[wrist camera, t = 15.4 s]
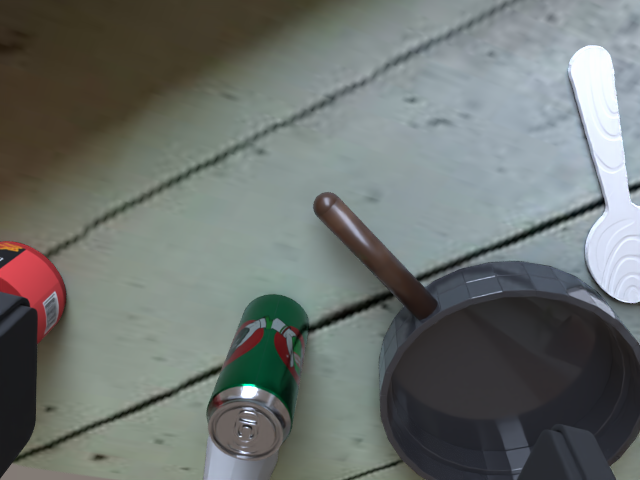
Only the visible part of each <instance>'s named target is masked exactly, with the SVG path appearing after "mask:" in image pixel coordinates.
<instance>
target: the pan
mask: <svg viewBox="0 0 640 480" xmlns="http://www.w3.org/2000/svg"><path fill="white" fill-rule="evenodd" d="M425 289H426V290H427V291H428V292H429V293H430V294H431V295H432V296H433V297H434V298H435V299H436V300H437V302H438V304H437V307H436V309H435V311H434V312H433V313H432V314H431V315H430V316H428V317H427V318H425V319H423V320H418V319H417V318H416V317H415V316H414V315H413V314H412V313H411V312H410V311H409V310H408V309H407V308H406V307H405V306H404V307H403V308H402V310H401V311H400V312H399V313H398V314H397V315H396V317H394V319H393V321H392V323H391V325H390V327H389V329H388V331H387V333H386V335H385V337H384V339H383V344H382V348H381V352H380V357H379V388H380V412H381V420H382V423H383V426H384V429H385V432H386V435H387V438H388V440H389V442H390V443H391V445H392V446H393V448H394V449H395V451H396V452H397V454H398V455H399V457H400V458H401V459H402V460H403V461H404V462H405V463H406V464H407V465H408V466H409V467H410V468H411V469H413V470H414V471H415V472H416V473H417V474H418V475H419V476H421V477H423V478H425V479H426V480H517V478H518V476H519V474H520V472H521V470H522V468H523V466H524V465H525V463H526V461H527V459H528V457H529V455H530V453H531V451H532V449H533V447H534V445H535V443H536V441H537V439H538V437H539V435H540V434H541V432H542V431H543V430H545V429H548V430H550V429H551V428H552V427H553V426H554V425H555V424H562V425H566V426H570V427H575V428H579V429H583V430H587V431H589V432H591V433H592V434H593V436H594V437H595V439H596V441H597V443H598V445H599V447H600V449H601V451H602V453H603V455H604V457H605V459H606V461H607V463H608V465H609V466H611V465H612V464H613V463H614V462H616V461H617V460H618V459H619V458H620V457H621V456H622V455H623V453H624V452H625V451H626V450H627V449H628V447H629V446H630V445H631V444H632V443H633V441H634V440H635V439H636V437H637V435H638V433H639V431H640V345H639V343H638V342H637V341H636V339H635V338H634V337H633V335H632V334H631V333H630V331H629V330H628V329H627V328H626V326H625V325H624V324H623V322H622V321H621V320H620V319H619V317H618V316H617V315H616V313H615V312H614V311H613V310H612V308H611V307H610V306H609V305H608V304H607V302H606V301H605V300H604V299H603V298H602V296H601V295H600V294H599V293H598V292H597V291H596V290H594V289H593V288H592V287H590V286H589V285H587V284H586V283H585V282H583V281H582V280H580V279H579V278H577V277H576V276H574V275H571V274H569V273H566V272H564V271H561V270H559V269H556V268H554V267H551V266H546V265H540V264H534V263H528V262H522V261H521V262H520V261H509V262H488V263H484V264H480V265H476V266H471V267H467V268H463V269H459V270H457V271H455V272H453V273H451V274H448V275H446V276H444V277H442V278H440V279H437V280H435V281H434V282H432V283H431V284H429V285H428V286H427V287H425ZM436 322H437V323H436ZM435 323H436V324H435Z"/></svg>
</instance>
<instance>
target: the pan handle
mask: <svg viewBox="0 0 640 480" xmlns="http://www.w3.org/2000/svg"><path fill="white" fill-rule="evenodd" d="M313 209H314V212H315V214H316V216H317V217H318V218H319V219H320V220H321V221H322V222H323V223H324V224H325V225H326V226H327V227H328V228H329V229H330V230H331V231H332V232H333V233H334V234H335V235H336V236H337V237H338V238H339V239H340V240H341V241H342V242H343V243H344V244H345V245H346V247H347V248H348V249H349V250H350V251H351V252H352V253H353V254H354V255H355V256H356V257H357V258H358V259H359V260H360V261H361V262H362V263H363V264H364V265H365V266H366V267H367V268H368V269H369V270H370V271H371V272H372V273H373V274H374V275H375V276H376V277H377V278H378V279H379V280H380V281H381V282H382V283H383V284H384V285H385V286H386V288H387V289H388V290H389V291H390V292H391V293H392V294H393V295H394V296H395V297H396V298H397V299H398V300H399V301H400V302H401V303H402V304H403V305H404V306H405V307H406V308H407V309H408V310H409V311H410V312H411V313H412V314H413V315H414V316H415V317H416V318H417V319H418V320H423V319H425V318H427V317H428V316H430V315H431V314H432V313H433V312H434V311H435V309H436V307H437V304H438V302H437V300H436V299H435V298H434V297H433V296H432V295H431V294H430V293H429V292H428V291H427V290H426V289H425V288H424V287H423V285H422V284H421V283H420V282H419V281H418V280H417V279H416V278H415V277H414V276H413V275H412V274H411V273H410V272H409V271H408V270H407V269H406V268H405V267H404V266H403V264H402V263H401V262H400V261H399V260H398V259H397V258H396V257H395V256H394V255H393V254H392V253H391V252H390V251H389V250H388V249H387V248H386V247H385V246H384V244H383V243H382V242H381V241H380V240H379V239H378V238H377V237H376V236H375V235H374V234H373V233H372V232H371V231H370V230H369V229H368V228H367V227H366V226H365V225H364V223H363V222H362V221H361V220H360V219H359V218H358V217H357V216H356V215H355V214H354V213H353V212H352V211H351V210H350V209H349V208H348V207H347V206H346V205H345V203H344V202H343V201H342V200H341V199H340V198H339V197H338V196H337V195H335V194H334V193H331V192H324V193H322V194H320V195H318V196H317V197H316V199H315V201H314V204H313ZM436 323H437V322H436ZM436 323H435V324H436Z"/></svg>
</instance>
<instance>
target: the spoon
mask: <svg viewBox="0 0 640 480" xmlns="http://www.w3.org/2000/svg"><path fill="white" fill-rule="evenodd" d="M614 73H615V72H614V69H613V65H612V61H611V56H610V55H609V53H608V52H607V51H606V49H604V48H602V47H600V46H594V45H593V46H592V45H591V46H587V47H584V48H581V49H580V50H579V51H577V52H576V54H575V55H574V56H573V57H572V59H571V61H570V63H569V68H568V74H569V78H570V80H571V84H572V87H573V90H574V94H575V99H576V101H577V105H578V109H579V114H580V115H581V120H582V124H583V126H584V130H585V135H586V137H587V141H588V143H589V147H590V151H591V156H592V157H593V162H594V164H595V168H596V172H597V176H598V179H599V183H600V185H601V189H602V194H603V196H604V200H605V205H606V207H605V208H606V209H605V212H604V213H603V215H602V216H601V217H600V218H599V219H598V221H597V222H596V223H595V224H594V226H593V227H592V229H591V230H590V233H589V235H588V238H587V240H586V245H585V248H586V249H585V259H586V264H587V266H588V269H589V271H590V273H591V274H592V277H593V279H594V280H595V281H596V282H597V284H598V285H599V286H600V287H601V288H602V289H603V290H604V291H605V292H606V293H608V294H609V295H611V296H612V297H613V298H616V299H617V300H619V301H621V302H622V301H623V302H628V303H633V304H634V303H636V302H640V206H637V205H635V204H634V203H632V201H631V200H630V198H629V196H630V193H629V189H628V184H627V183H628V179H627V176H628V175H627V171H626V167H625V163H624V162H626V161H625V157H624V155H625V153H624V149H623V144H622V140H623V139H622V136H621V132H622V131H621V126H620V121H619V119H620V116H619V113H618V108H619V106H618V105H617V103H618V102H617V99H616V96H617V93H616V89H615V84H614V81H615V78H614V75H613V74H614Z"/></svg>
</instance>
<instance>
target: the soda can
mask: <svg viewBox="0 0 640 480" xmlns="http://www.w3.org/2000/svg"><path fill="white" fill-rule="evenodd" d="M308 332H309V320H308V317H307V314H306V312H305V311H304V309H303V308H302V307H301V306H300V305H299V304H298V303H297V302H295V301H294V300H292V299H290V298H288V297H285V296H282V295H264V296H261V297H259V298H257V299H255V300H253V301H252V302H251V303H250V304H249V305H248V306H247V307H246V309H245V311H244V313H243V316H242V318H241V321H240V323H239V326H238V329H237V331H236V334H235V336H234V339H233V342H232V344H231V347H230V349H229V352H228V355H227V357H226V360H225V362H224V365H223V367H222V370H221V373H220V375H219V378H218V380H217V383H216V386H215V388H214V391H213V393H212V396H211V398H210V401H209V404H208V407H207V422H208V430H209V435H210V438H211V440H212V442H213V443H214V444H215V446H216V447H217V448H218V449H219V450H220V451H222V452H223V453H225V454H226V455H228V456H230V457H232V458H235V459H239V460H244V461H257V460H262V459H265V458H267V457H269V456H271V455H273V454H274V453H275V452H276V451H277V450H278V449H279V448H280V446H281V444H282V443H283V442H284V441H285V440H286V439H287V437H288V436H289V434H290V432H291V429H292V424H293V419H294V413H295V407H296V401H297V395H298V390H299V384H300V378H301V372H302V367H303V361H304V355H305V349H306V344H307V338H308Z"/></svg>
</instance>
